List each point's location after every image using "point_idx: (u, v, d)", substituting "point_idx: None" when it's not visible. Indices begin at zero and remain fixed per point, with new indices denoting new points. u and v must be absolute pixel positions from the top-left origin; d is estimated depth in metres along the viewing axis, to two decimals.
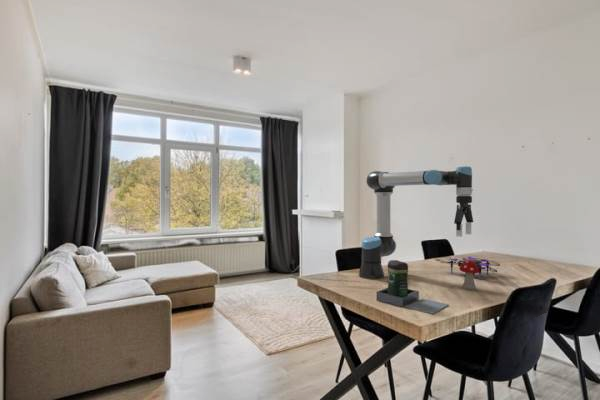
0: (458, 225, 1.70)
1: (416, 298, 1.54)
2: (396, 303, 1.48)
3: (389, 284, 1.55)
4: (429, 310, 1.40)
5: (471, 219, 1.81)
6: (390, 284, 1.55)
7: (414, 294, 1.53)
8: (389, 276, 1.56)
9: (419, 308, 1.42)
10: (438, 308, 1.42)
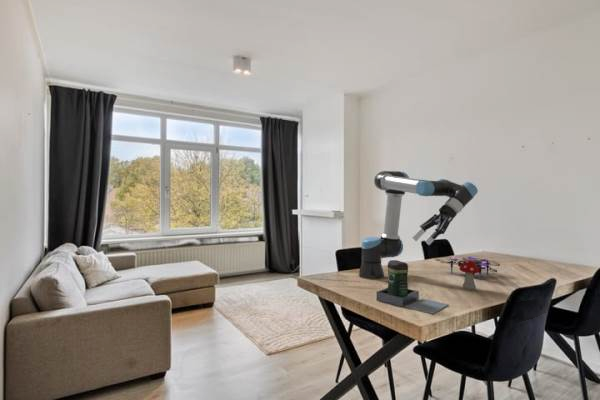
0: (437, 234, 1.48)
1: (416, 298, 1.54)
2: (396, 303, 1.48)
3: (389, 284, 1.55)
4: (429, 310, 1.40)
5: None
6: (390, 284, 1.55)
7: (414, 294, 1.53)
8: (389, 276, 1.56)
9: (419, 308, 1.42)
10: (438, 308, 1.42)
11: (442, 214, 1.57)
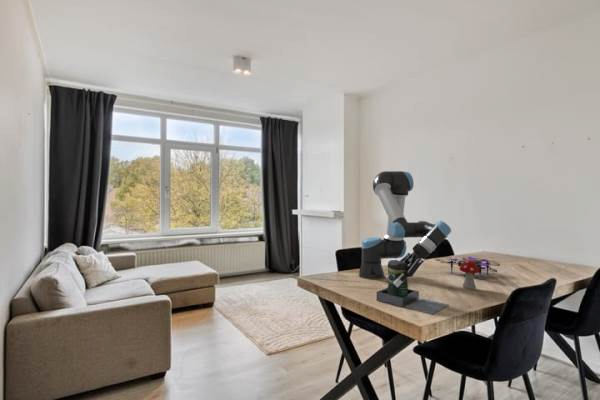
0: (405, 277, 1.49)
1: (416, 298, 1.54)
2: (396, 303, 1.48)
3: (389, 284, 1.55)
4: (429, 310, 1.40)
5: None
6: (390, 284, 1.55)
7: (414, 294, 1.53)
8: (389, 276, 1.56)
9: (419, 308, 1.42)
10: (438, 308, 1.42)
11: (415, 253, 1.56)
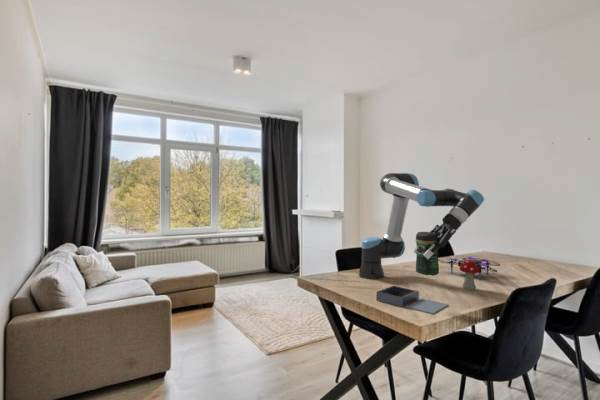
0: (436, 248, 1.40)
1: (416, 298, 1.54)
2: (396, 303, 1.48)
3: (418, 257, 1.46)
4: (429, 310, 1.40)
5: None
6: (419, 257, 1.45)
7: (414, 294, 1.53)
8: (417, 248, 1.46)
9: (419, 308, 1.42)
10: (438, 308, 1.42)
11: (446, 224, 1.47)
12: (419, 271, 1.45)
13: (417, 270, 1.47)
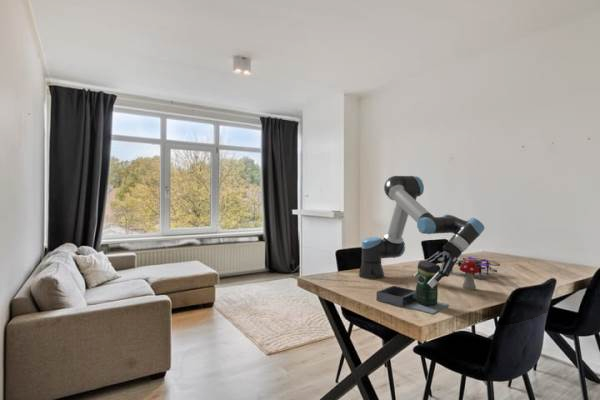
0: (441, 276, 1.38)
1: None
2: (396, 303, 1.48)
3: (418, 285, 1.48)
4: (429, 310, 1.40)
5: None
6: (419, 286, 1.48)
7: (414, 294, 1.53)
8: (418, 277, 1.48)
9: (419, 308, 1.42)
10: (438, 308, 1.42)
11: (446, 252, 1.47)
12: (418, 299, 1.48)
13: (416, 298, 1.50)
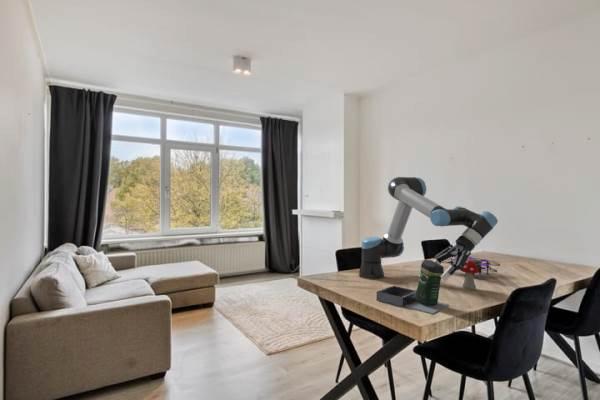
0: (454, 270, 1.38)
1: (416, 298, 1.54)
2: (396, 303, 1.48)
3: (420, 284, 1.48)
4: (429, 310, 1.40)
5: None
6: (420, 285, 1.48)
7: (414, 294, 1.53)
8: (421, 276, 1.48)
9: (419, 308, 1.42)
10: (438, 308, 1.42)
11: (459, 246, 1.46)
12: (418, 298, 1.48)
13: (416, 296, 1.50)
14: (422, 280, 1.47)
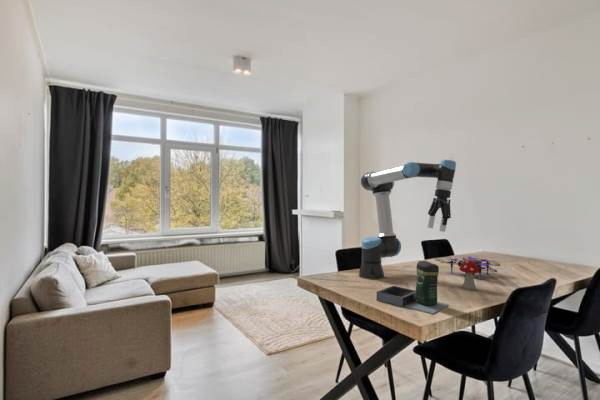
0: (446, 220, 1.64)
1: None
2: (396, 303, 1.48)
3: (417, 286, 1.49)
4: (429, 310, 1.40)
5: None
6: (418, 286, 1.48)
7: (414, 294, 1.53)
8: (417, 278, 1.49)
9: (419, 308, 1.42)
10: (438, 308, 1.42)
11: (439, 198, 1.72)
12: (418, 300, 1.49)
13: (416, 298, 1.50)
14: (419, 281, 1.48)
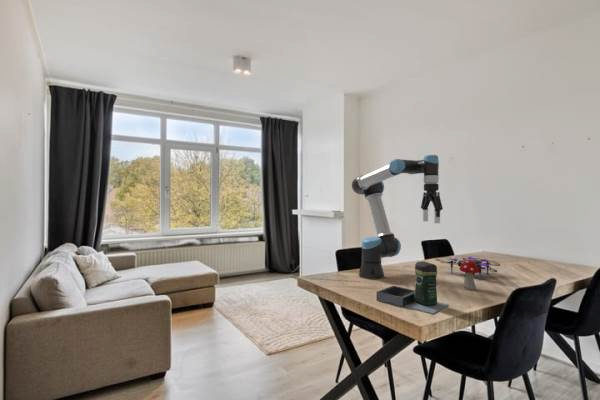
0: (439, 212, 1.72)
1: None
2: (396, 303, 1.48)
3: (417, 286, 1.49)
4: (429, 310, 1.40)
5: None
6: (417, 287, 1.49)
7: (414, 294, 1.53)
8: (416, 278, 1.50)
9: (419, 308, 1.42)
10: (438, 308, 1.42)
11: (429, 191, 1.80)
12: (418, 300, 1.49)
13: (416, 299, 1.50)
14: (418, 282, 1.48)
